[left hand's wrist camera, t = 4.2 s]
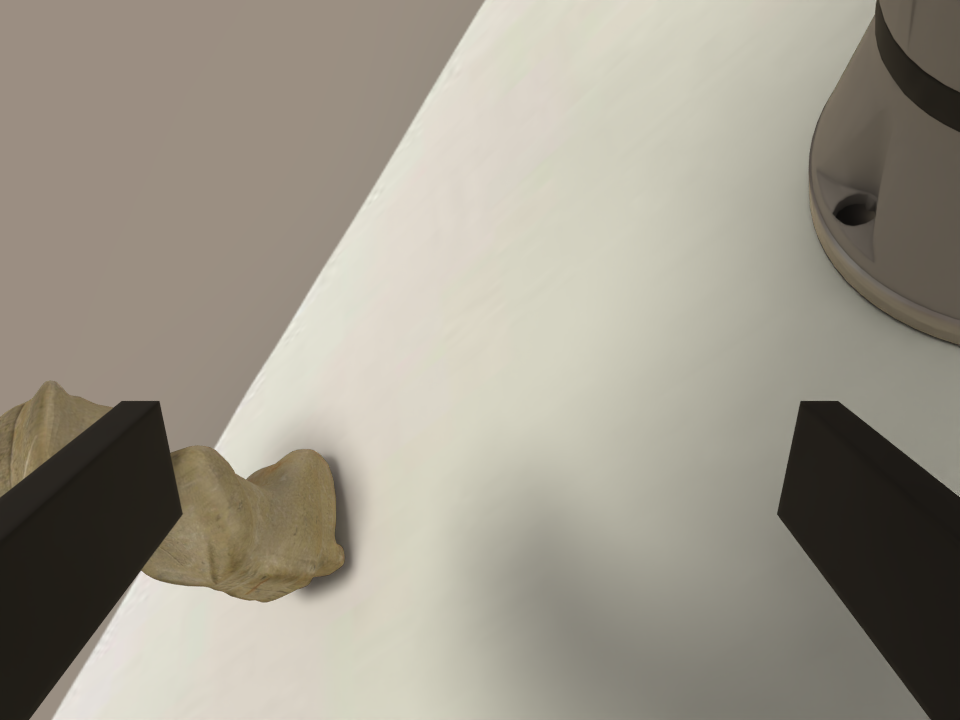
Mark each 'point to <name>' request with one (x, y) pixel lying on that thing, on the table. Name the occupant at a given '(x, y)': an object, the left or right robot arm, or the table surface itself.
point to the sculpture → (205, 505)
